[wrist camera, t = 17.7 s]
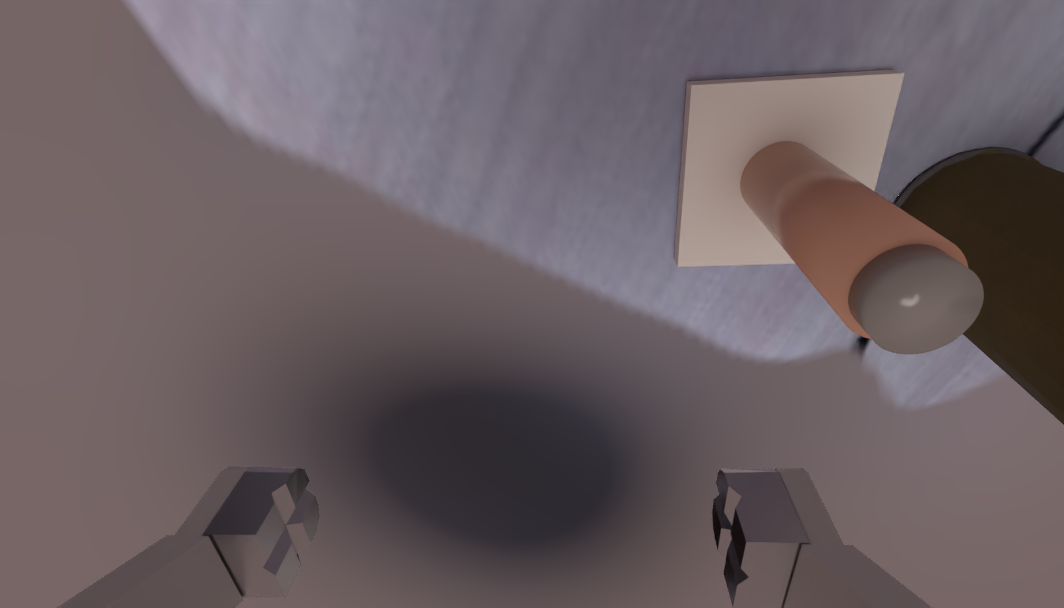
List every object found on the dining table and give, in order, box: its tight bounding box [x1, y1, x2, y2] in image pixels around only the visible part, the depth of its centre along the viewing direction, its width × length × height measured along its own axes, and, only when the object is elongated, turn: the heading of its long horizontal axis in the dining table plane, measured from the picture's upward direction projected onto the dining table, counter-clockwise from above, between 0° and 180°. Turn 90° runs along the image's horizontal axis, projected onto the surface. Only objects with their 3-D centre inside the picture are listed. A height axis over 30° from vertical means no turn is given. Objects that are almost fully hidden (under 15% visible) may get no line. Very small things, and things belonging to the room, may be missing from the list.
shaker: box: [740, 141, 984, 354], centre depth 28 cm, size 5×5×17 cm
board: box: [674, 70, 905, 267], centre depth 35 cm, size 12×12×2 cm
